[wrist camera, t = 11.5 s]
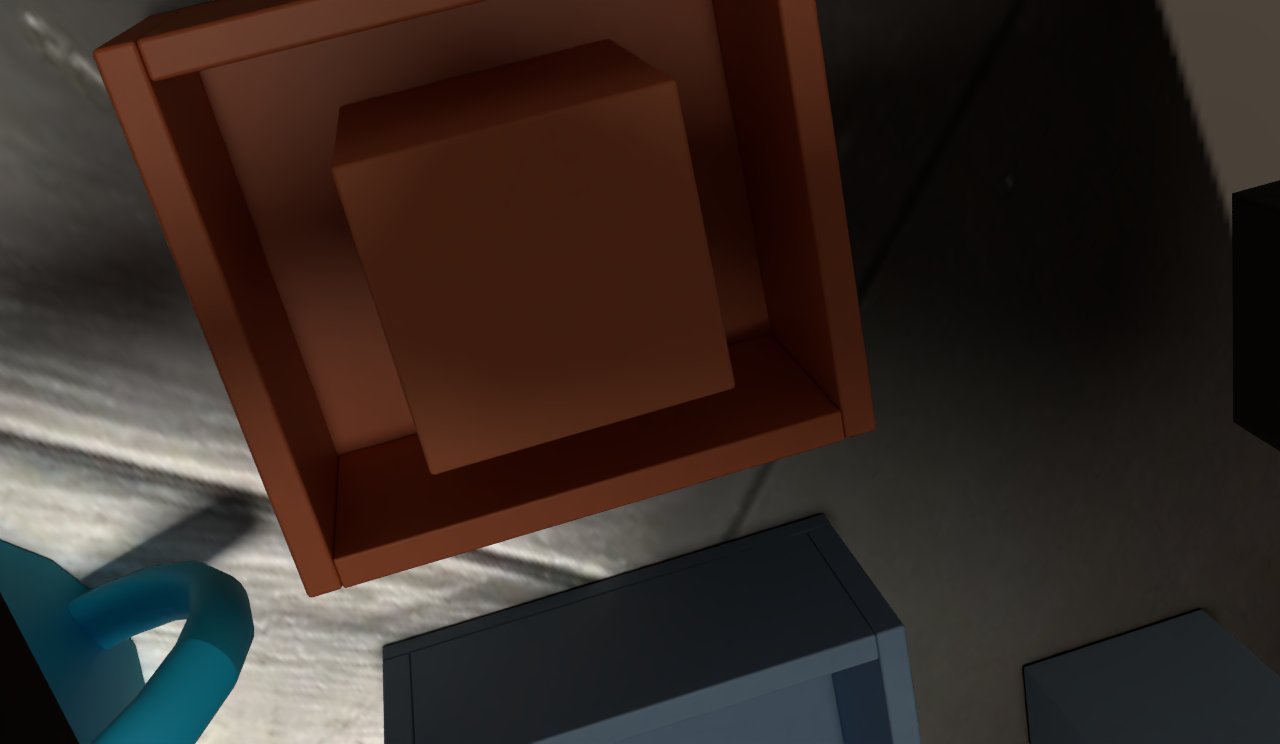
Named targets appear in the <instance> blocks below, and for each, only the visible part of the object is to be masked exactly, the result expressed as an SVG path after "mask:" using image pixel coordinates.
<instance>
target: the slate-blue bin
mask: <svg viewBox="0 0 1280 744" xmlns="http://www.w3.org/2000/svg"><path fill="white" fill-rule="evenodd" d="M382 653H383V701H384V744H921V739H920V732H919V725H918V718H917V711H916V704H915V697H914V690H913V682H912V675H911V668H910V661H909V654H908V647H907V640H906V633H905V626H904V625H903V624H902V622H901V621H900V619H899V618H898V617H897V615H896V614H895V612H894V611H893V610H892V608H891V607H890V606H889V604H888V603H887V601H886V600H885V599H884V597H883V596H882V595H881V593H880V592H879V590H878V589H877V588H876V586H875V585H874V583H873V582H872V581H871V579H870V578H869V577H868V575H867V574H866V572H865V571H864V570H863V568H862V567H861V566H860V564H859V563H858V561H857V560H856V559H855V557H854V556H853V554H852V553H851V552H850V550H849V549H848V548H847V546H846V545H845V543H844V542H843V541H842V539H841V538H840V537H839V535H838V534H837V532H836V531H835V530H834V528H833V527H832V526H831V524H830V523H829V521H828V520H827V519H826V517H825V516H824V515H819V516H815V517H812V518H809V519H805V520H802V521H799V522H796V523H792V524H789V525H786V526H782V527H779V528H776V529H772V530H769V531H766V532H763V533H759V534H756V535H753V536H749V537H746V538H743V539H740V540H736V541H733V542H730V543H726V544H723V545H720V546H716V547H713V548H710V549H707V550H703V551H700V552H697V553H693V554H690V555H687V556H683V557H680V558H677V559H674V560H670V561H667V562H664V563H660V564H657V565H654V566H651V567H647V568H644V569H641V570H637V571H634V572H631V573H627V574H624V575H621V576H618V577H614V578H611V579H608V580H604V581H601V582H598V583H595V584H591V585H588V586H585V587H581V588H578V589H575V590H571V591H568V592H565V593H562V594H558V595H555V596H552V597H548V598H545V599H542V600H538V601H535V602H532V603H529V604H525V605H522V606H519V607H515V608H512V609H509V610H506V611H502V612H499V613H496V614H492V615H489V616H486V617H482V618H479V619H476V620H473V621H469V622H466V623H463V624H459V625H456V626H453V627H450V628H446V629H443V630H440V631H436V632H433V633H430V634H426V635H423V636H420V637H417V638H413V639H410V640H407V641H403V642H400V643H397V644H394V645H390V646H387V647H384V648H383V650H382Z"/></svg>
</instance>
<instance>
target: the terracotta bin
mask: <svg viewBox="0 0 1280 744" xmlns="http://www.w3.org/2000/svg"><path fill="white" fill-rule="evenodd" d="M607 39H610V40H612V41H614V42H615V43H617V44H618V45H620V46H621V47H623V48H625V49H626V50H628V51H629V52H631V53H632V54H634V55H636V56H637V57H639V58H640V59H642V60H643V61H645V62H647V63H648V64H650V65H651V66H653V67H654V68H656V69H658V70H659V71H661V72H662V73H664V74H665V75H667V76H669V77H670V78H672V79H673V80H674V81H675V82H676V85H677V90H678V95H679V100H680V105H681V110H682V116H683V121H684V126H685V131H686V136H687V141H688V146H689V151H690V156H691V162H692V167H693V172H694V177H695V182H696V187H697V192H698V197H699V203H700V208H701V213H702V218H703V223H704V228H705V233H706V238H707V243H708V249H709V254H710V259H711V264H712V269H713V274H714V279H715V284H716V289H717V295H718V300H719V305H720V310H721V315H722V320H723V325H724V330H725V336H726V341H727V346H728V351H729V356H730V361H731V366H732V371H733V376H734V382H735V386H734V388H732V389H730V390H726V391H723V392H719V393H716V394H712V395H709V396H705V397H702V398H698V399H695V400H691V401H688V402H684V403H681V404H678V405H674V406H671V407H667V408H664V409H660V410H657V411H653V412H650V413H646V414H643V415H639V416H636V417H633V418H629V419H626V420H622V421H619V422H615V423H612V424H608V425H605V426H601V427H598V428H594V429H591V430H587V431H584V432H581V433H577V434H574V435H570V436H567V437H563V438H560V439H556V440H553V441H549V442H546V443H542V444H539V445H536V446H532V447H529V448H525V449H522V450H518V451H515V452H511V453H508V454H504V455H501V456H497V457H494V458H491V459H487V460H484V461H480V462H477V463H473V464H470V465H466V466H463V467H459V468H456V469H452V470H449V471H445V472H442V473H439V474H431V472H430V471H429V468H428V465H427V462H426V459H425V456H424V453H423V450H422V447H421V444H420V441H419V438H418V435H417V432H416V429H415V426H414V422H413V419H412V416H411V413H410V410H409V407H408V404H407V401H406V398H405V395H404V392H403V389H402V386H401V383H400V380H399V377H398V374H397V371H396V368H395V364H394V361H393V358H392V355H391V352H390V349H389V346H388V343H387V340H386V337H385V334H384V331H383V328H382V325H381V322H380V319H379V316H378V313H377V310H376V306H375V303H374V300H373V297H372V294H371V291H370V288H369V285H368V282H367V279H366V276H365V273H364V270H363V267H362V264H361V261H360V258H359V255H358V252H357V248H356V245H355V242H354V239H353V236H352V233H351V230H350V227H349V224H348V221H347V218H346V215H345V212H344V209H343V206H342V203H341V200H340V197H339V193H338V190H337V187H336V184H335V181H334V178H333V175H332V163H333V155H334V147H335V139H336V131H337V123H338V115H339V108H340V107H341V106H345V105H348V104H352V103H356V102H360V101H364V100H368V99H372V98H376V97H380V96H384V95H388V94H392V93H396V92H400V91H404V90H408V89H412V88H416V87H420V86H424V85H428V84H432V83H436V82H440V81H444V80H448V79H452V78H456V77H460V76H464V75H468V74H472V73H476V72H479V71H483V70H487V69H491V68H495V67H499V66H503V65H507V64H511V63H515V62H519V61H523V60H527V59H531V58H535V57H539V56H543V55H547V54H551V53H555V52H559V51H563V50H567V49H571V48H575V47H579V46H583V45H587V44H591V43H595V42H599V41H603V40H607ZM93 57H94V60H95V62H96V65H97V67H98V70H99V72H100V75H101V77H102V80H103V82H104V85H105V87H106V90H107V92H108V95H109V97H110V100H111V102H112V105H113V107H114V110H115V112H116V115H117V117H118V120H119V122H120V125H121V127H122V130H123V132H124V135H125V137H126V140H127V142H128V145H129V148H130V150H131V153H132V155H133V158H134V160H135V163H136V165H137V168H138V170H139V173H140V175H141V178H142V180H143V183H144V185H145V188H146V190H147V193H148V195H149V198H150V200H151V203H152V205H153V208H154V210H155V213H156V215H157V218H158V220H159V223H160V225H161V228H162V231H163V233H164V236H165V238H166V241H167V243H168V246H169V248H170V251H171V253H172V256H173V258H174V261H175V263H176V266H177V268H178V271H179V273H180V276H181V278H182V281H183V283H184V286H185V288H186V291H187V293H188V296H189V298H190V301H191V303H192V306H193V308H194V311H195V313H196V316H197V319H198V321H199V324H200V326H201V329H202V331H203V334H204V336H205V339H206V341H207V344H208V346H209V349H210V351H211V354H212V356H213V359H214V361H215V364H216V366H217V369H218V371H219V374H220V376H221V379H222V381H223V384H224V386H225V389H226V391H227V394H228V396H229V399H230V401H231V404H232V407H233V409H234V412H235V414H236V417H237V419H238V422H239V424H240V427H241V429H242V432H243V434H244V437H245V439H246V442H247V444H248V447H249V449H250V452H251V454H252V457H253V459H254V462H255V464H256V467H257V469H258V472H259V474H260V477H261V479H262V482H263V484H264V487H265V490H266V492H267V495H268V497H269V500H270V502H271V505H272V507H273V510H274V512H275V515H276V517H277V520H278V522H279V525H280V527H281V530H282V532H283V535H284V537H285V540H286V542H287V545H288V547H289V550H290V552H291V555H292V557H293V560H294V562H295V565H296V567H297V570H298V572H299V575H300V578H301V580H302V583H303V585H304V588H305V590H306V593H307V595H308V596H309V597H315V596H318V595H321V594H325V593H328V592H332V591H335V590H338V589H340V588H341V587H342V585H343V587H344V588H347V587H350V586H354V585H357V584H361V583H364V582H367V581H371V580H374V579H377V578H381V577H384V576H388V575H391V574H394V573H398V572H401V571H404V570H408V569H411V568H414V567H418V566H421V565H425V564H428V563H431V562H435V561H438V560H441V559H445V558H448V557H452V556H455V555H458V554H462V553H465V552H468V551H472V550H475V549H478V548H482V547H485V546H489V545H492V544H495V543H499V542H502V541H505V540H509V539H512V538H516V537H519V536H522V535H526V534H529V533H532V532H536V531H539V530H542V529H546V528H549V527H553V526H556V525H559V524H563V523H566V522H569V521H573V520H576V519H580V518H583V517H586V516H590V515H593V514H596V513H600V512H603V511H606V510H610V509H613V508H617V507H620V506H623V505H627V504H630V503H633V502H637V501H640V500H644V499H647V498H650V497H654V496H657V495H660V494H664V493H667V492H670V491H674V490H677V489H681V488H684V487H687V486H691V485H694V484H697V483H701V482H704V481H708V480H711V479H714V478H718V477H721V476H724V475H728V474H731V473H734V472H738V471H741V470H745V469H748V468H751V467H755V466H758V465H761V464H765V463H768V462H772V461H775V460H778V459H782V458H785V457H788V456H792V455H795V454H798V453H802V452H805V451H809V450H812V449H815V448H819V447H822V446H825V445H829V444H832V443H836V442H839V441H842V440H844V439H845V437H846V438H850V437H854V436H857V435H861V434H864V433H867V432H871V431H874V430H875V429H876V423H875V416H874V409H873V402H872V395H871V388H870V381H869V374H868V367H867V360H866V353H865V346H864V339H863V332H862V325H861V318H860V311H859V304H858V297H857V289H856V282H855V275H854V268H853V261H852V254H851V247H850V240H849V233H848V226H847V219H846V212H845V205H844V198H843V191H842V184H841V177H840V170H839V163H838V156H837V149H836V142H835V135H834V128H833V121H832V114H831V106H830V99H829V92H828V85H827V78H826V71H825V64H824V57H823V50H822V43H821V36H820V29H819V22H818V15H817V8H816V1H815V0H216V1H212V2H208V3H204V4H199V5H195V6H191V7H187V8H183V9H179V10H174V11H170V12H166V13H162V14H158V15H153V16H149V17H147V18H146V19H144V20H143V21H141V22H140V23H138V24H136V25H135V26H133V27H131V28H130V29H128V30H126V31H125V32H123V33H121V34H120V35H118V36H116V37H115V38H113V39H111V40H110V41H108V42H107V43H105V44H103V45H102V46H100V47H98V48H97V49H95V50H94V51H93Z"/></svg>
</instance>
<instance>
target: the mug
mask: <svg viewBox="0 0 1280 744" xmlns="http://www.w3.org/2000/svg"><path fill="white" fill-rule="evenodd" d="M0 592H1V594H2V596H3V598H4V600H5V602H6V604H7V606H8V608H9V610H10V612H11V613H12V615H13V617H14V619H15V621H16V623H17V625H18V627H19V629H20V631H21V633H22V634H23V636H24V638H25V640H26V642H27V644H28V646H29V648H30V650H31V652H32V654H33V656H34V657H35V659H36V661H37V663H38V665H39V667H40V669H41V671H42V673H43V675H44V677H45V679H46V680H47V682H48V684H49V686H50V688H51V690H52V692H53V694H54V696H55V698H56V700H57V701H58V703H59V705H60V707H61V709H62V711H63V713H64V715H65V717H66V719H67V721H68V723H69V724H70V726H71V728H72V730H73V732H74V734H75V736H76V738H77V740H78V742H79V744H195V743H196V742H197V740H198V739H199V737H200V736H201V734H202V733H203V732H204V730H205V729H206V727H207V726H208V724H209V723H210V721H211V720H212V718H213V717H214V716H215V714H216V713H217V711H218V710H219V708H220V707H221V705H222V704H223V702H224V701H225V700H226V698H227V697H228V695H229V694H230V692H231V691H232V689H233V688H234V686H235V684H236V682H237V680H238V677H239V675H240V672H241V669H242V667H243V664H244V661H245V659H246V656H247V653H248V651H249V648H250V646H251V643H252V640H253V638H254V625H253V619H252V614H251V608H250V603H249V599H248V595H247V592H246V590H245V589H244V587H243V586H242V584H241V583H240V582H239V581H238V580H236V579H235V578H234V577H233V576H231V575H229V574H227V573H224V572H222V571H220V570H218V569H215V568H213V567H211V566H208V565H206V564H204V563H202V562H197V561H186V562H179V563H172V564H166V565H159V566H152V567H147V568H144V569H142V570H139V571H136V572H134V573H131V574H129V575H126V576H124V577H121V578H119V579H116V580H114V581H111V582H108V583H106V584H103V585H101V586H99V587H97V588H95V589H93V590H89V589H88V588H87V587H85V586H84V585H83V584H81V583H80V582H79V581H78V580H76V579H75V578H74V577H72V576H71V575H70V574H68V573H67V572H66V571H64V570H63V569H62V568H60V567H59V566H58V565H56V564H55V563H54V562H52V561H51V560H48V559H46V558H43V557H41V556H38V555H36V554H33V553H31V552H28V551H25V550H23V549H20V548H18V547H15V546H13V545H10V544H8V543H5V542H3V541H0ZM183 619H187V621H186V623H185V625H184V628H183V630H182V632H181V634H180V636H179V638H178V641H177V643H176V645H175V646H174V648H173V649H172V650H171V652H170V653H169V654H168V656H167V657H166V658H165V659H164V661H163V662H162V663H161V665H160V666H159V667H158V669H157V670H156V671H155V673H154V674H153V675H152V677H151V678H150V679H149V680H148V682H147V683H146V684H145V685H144V681H143V677H142V672H141V668H140V664H139V660H138V656H137V652H136V648H135V645H134V644H133V643H132V641H131V640H130V637H132V636H134V635H136V634H139V633H142V632H145V631H147V630H150V629H153V628H155V627H158V626H161V625H164V624H166V623H169V622H172V621H175V620H183Z"/></svg>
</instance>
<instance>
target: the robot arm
mask: <svg viewBox="0 0 1280 744" xmlns="http://www.w3.org/2000/svg"><path fill="white" fill-rule="evenodd" d="M1232 250H1233V422H1234V423H1236V424H1237V425H1239V426H1241V427H1242V428H1244V429H1245V430H1247V431H1249V432H1250V433H1252V434H1253V435H1255V436H1256V437H1258V438H1260V439H1261V440H1263V441H1264V442H1266V443H1268V444H1269V445H1271V446H1272V447H1274V448H1276V449H1277V450H1279V451H1280V180H1279V181H1276V182H1272V183H1269V184H1265V185H1261V186H1257V187H1254V188H1250V189H1247V190H1243V191H1240V192H1236V193H1233V194H1232ZM0 744H79V742H78V740H77V738H76V736H75V734H74V732H73V730H72V728H71V726H70V724H69V723H68V721H67V719H66V717H65V715H64V713H63V711H62V709H61V707H60V705H59V703H58V701H57V700H56V698H55V696H54V694H53V692H52V690H51V688H50V686H49V684H48V682H47V680H46V679H45V677H44V675H43V673H42V671H41V669H40V667H39V665H38V663H37V661H36V659H35V657H34V656H33V654H32V652H31V650H30V648H29V646H28V644H27V642H26V640H25V638H24V636H23V634H22V633H21V631H20V629H19V627H18V625H17V623H16V621H15V619H14V617H13V615H12V613H11V612H10V610H9V608H8V606H7V604H6V602H5V600H4V598H3V596H2V594H1V592H0Z"/></svg>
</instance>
